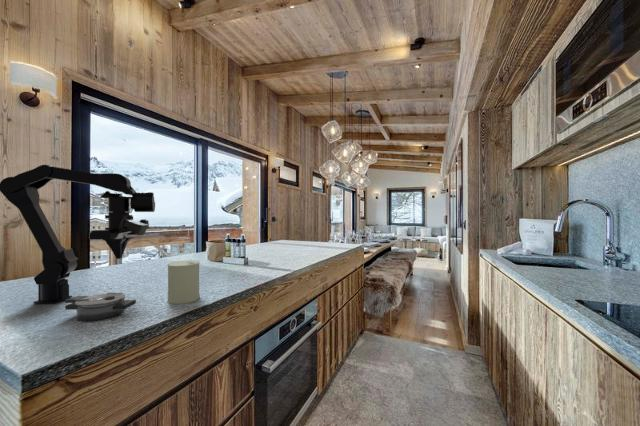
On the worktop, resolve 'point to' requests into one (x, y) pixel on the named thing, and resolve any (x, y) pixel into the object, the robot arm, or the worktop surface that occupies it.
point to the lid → (96, 299)
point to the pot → (100, 310)
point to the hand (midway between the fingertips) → (119, 258)
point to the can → (183, 282)
